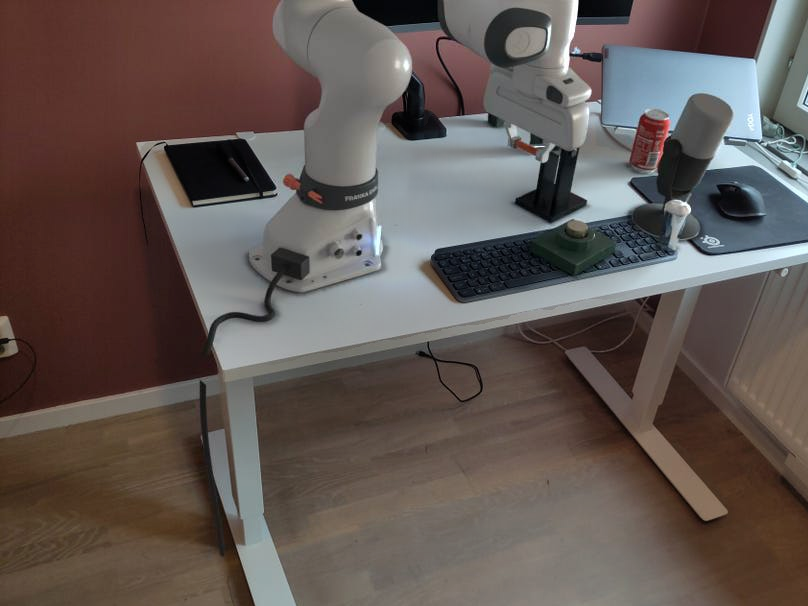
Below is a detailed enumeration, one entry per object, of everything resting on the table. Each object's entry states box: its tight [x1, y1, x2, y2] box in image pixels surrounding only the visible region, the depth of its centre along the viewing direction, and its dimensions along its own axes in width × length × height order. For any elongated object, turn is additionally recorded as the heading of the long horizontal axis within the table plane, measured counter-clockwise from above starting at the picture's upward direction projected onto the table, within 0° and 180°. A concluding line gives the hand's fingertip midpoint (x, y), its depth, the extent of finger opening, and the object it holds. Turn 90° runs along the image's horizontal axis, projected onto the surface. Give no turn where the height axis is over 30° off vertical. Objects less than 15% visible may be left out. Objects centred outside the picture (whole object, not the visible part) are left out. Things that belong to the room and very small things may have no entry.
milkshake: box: [657, 192, 692, 252], centre depth 148 cm, size 5×5×10 cm
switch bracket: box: [514, 146, 588, 224], centre depth 154 cm, size 11×9×14 cm
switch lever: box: [515, 140, 561, 157], centre depth 147 cm, size 12×5×2 cm, turn 138°
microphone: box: [631, 92, 735, 242], centre depth 150 cm, size 13×13×25 cm
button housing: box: [528, 218, 617, 277], centre depth 145 cm, size 12×10×4 cm
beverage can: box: [629, 108, 671, 174], centre depth 172 cm, size 6×6×12 cm
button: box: [566, 219, 589, 239], centre depth 144 cm, size 4×4×2 cm
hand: (527, 153), depth 144 cm, fingers closed on switch lever, 5 cm apart
